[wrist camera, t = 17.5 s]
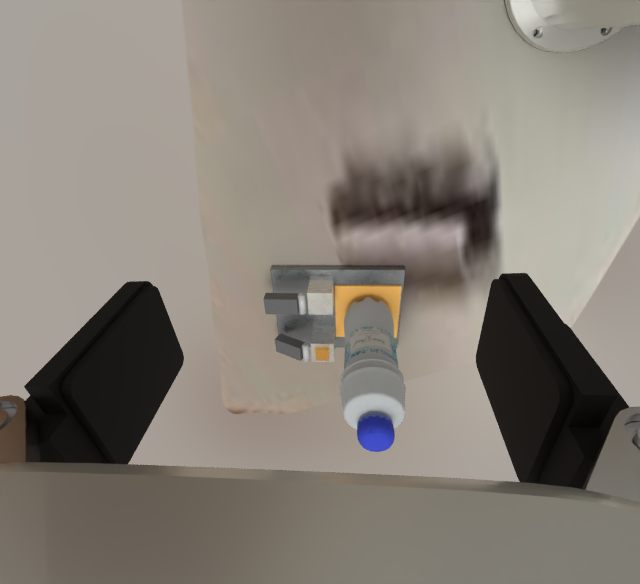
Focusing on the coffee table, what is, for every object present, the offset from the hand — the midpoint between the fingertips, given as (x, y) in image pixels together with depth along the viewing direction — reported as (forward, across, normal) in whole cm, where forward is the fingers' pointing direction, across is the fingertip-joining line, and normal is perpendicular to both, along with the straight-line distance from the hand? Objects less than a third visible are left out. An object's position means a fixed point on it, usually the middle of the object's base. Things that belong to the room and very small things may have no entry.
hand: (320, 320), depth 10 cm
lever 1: (+28, +8, +19) cm, 35 cm away
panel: (+33, +2, +23) cm, 40 cm away
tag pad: (+32, -2, +24) cm, 39 cm away
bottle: (+32, -2, +23) cm, 39 cm away
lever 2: (+29, +8, +27) cm, 41 cm away
